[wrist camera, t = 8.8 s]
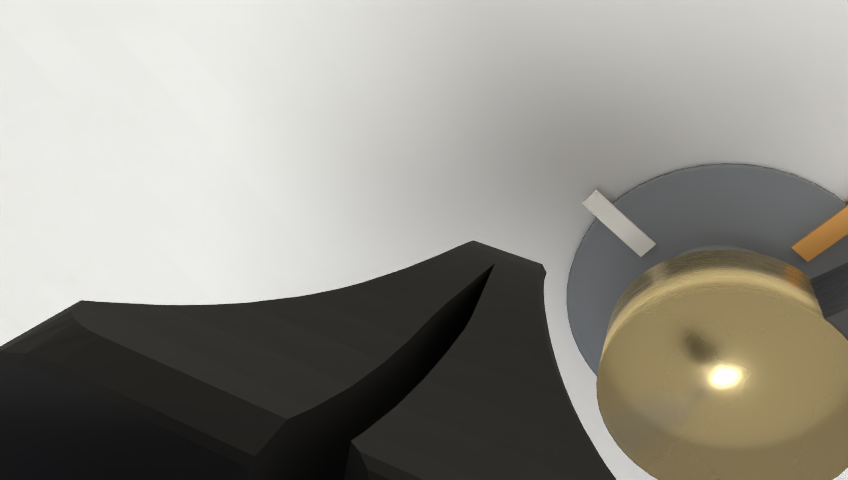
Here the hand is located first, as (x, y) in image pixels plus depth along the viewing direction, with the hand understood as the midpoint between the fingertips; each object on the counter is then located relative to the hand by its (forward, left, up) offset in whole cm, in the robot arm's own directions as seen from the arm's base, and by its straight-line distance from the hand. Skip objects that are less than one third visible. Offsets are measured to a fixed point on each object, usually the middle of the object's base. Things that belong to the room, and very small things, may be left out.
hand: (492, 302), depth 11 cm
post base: (-5, -4, -10) cm, 12 cm away
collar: (-3, -7, -7) cm, 10 cm away
